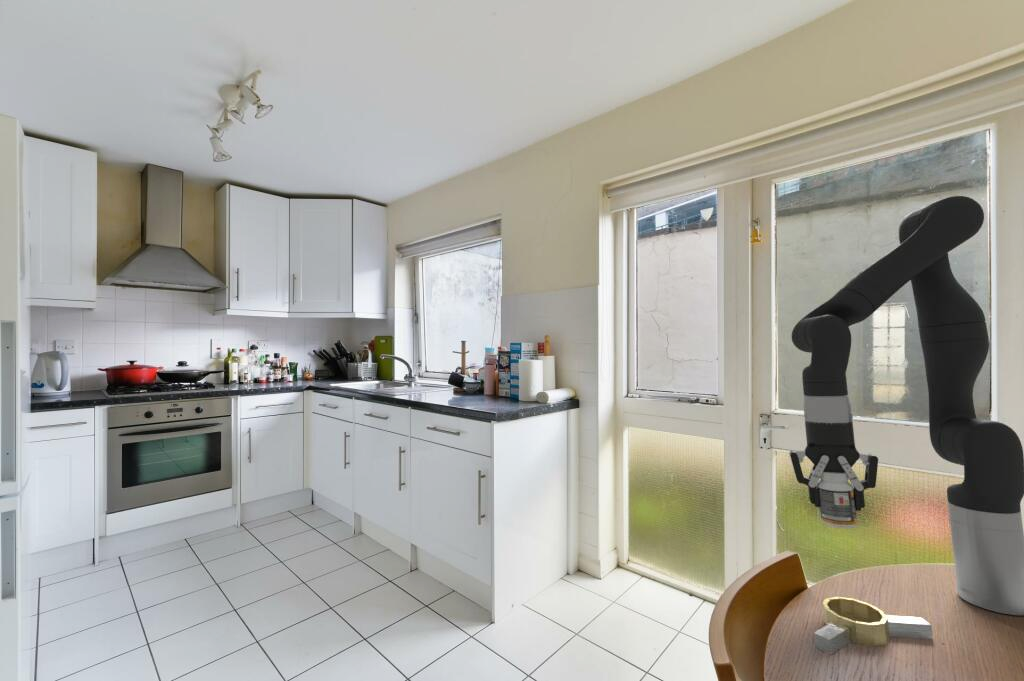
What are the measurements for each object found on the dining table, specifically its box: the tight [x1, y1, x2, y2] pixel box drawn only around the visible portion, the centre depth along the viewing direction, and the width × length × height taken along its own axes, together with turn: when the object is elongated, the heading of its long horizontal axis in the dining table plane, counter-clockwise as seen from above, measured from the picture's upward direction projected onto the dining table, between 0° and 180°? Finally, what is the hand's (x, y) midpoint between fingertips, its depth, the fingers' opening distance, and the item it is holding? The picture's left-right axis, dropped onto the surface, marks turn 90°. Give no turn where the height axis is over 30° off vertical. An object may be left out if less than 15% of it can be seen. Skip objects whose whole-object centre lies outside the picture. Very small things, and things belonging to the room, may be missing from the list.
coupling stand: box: [813, 596, 934, 655], centre depth 73 cm, size 20×9×3 cm, turn 98°
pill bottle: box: [816, 470, 858, 529], centre depth 83 cm, size 6×6×10 cm
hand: (836, 507), depth 83 cm, fingers closed on pill bottle, 5 cm apart
